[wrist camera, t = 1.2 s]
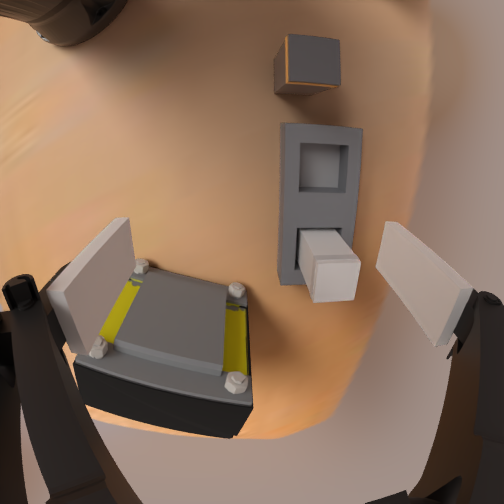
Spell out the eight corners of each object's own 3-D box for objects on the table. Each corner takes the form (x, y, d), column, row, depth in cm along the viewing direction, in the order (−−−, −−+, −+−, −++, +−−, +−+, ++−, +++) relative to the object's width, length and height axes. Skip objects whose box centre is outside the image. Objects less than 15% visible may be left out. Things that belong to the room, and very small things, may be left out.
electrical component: (251, 281, 41) (260, 396, 23) (233, 333, 45) (233, 442, 27) (132, 251, 39) (69, 348, 21) (128, 307, 43) (83, 406, 25)
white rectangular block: (296, 223, 37) (317, 263, 27) (330, 223, 37) (361, 261, 27) (294, 255, 39) (312, 303, 29) (327, 254, 39) (354, 300, 29)
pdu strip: (280, 122, 32) (285, 122, 29) (350, 127, 32) (363, 128, 29) (277, 270, 41) (280, 285, 37) (338, 268, 41) (346, 282, 37)
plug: (273, 59, 29) (288, 33, 19) (310, 61, 29) (340, 39, 19) (273, 93, 31) (288, 81, 21) (311, 95, 31) (341, 85, 21)
